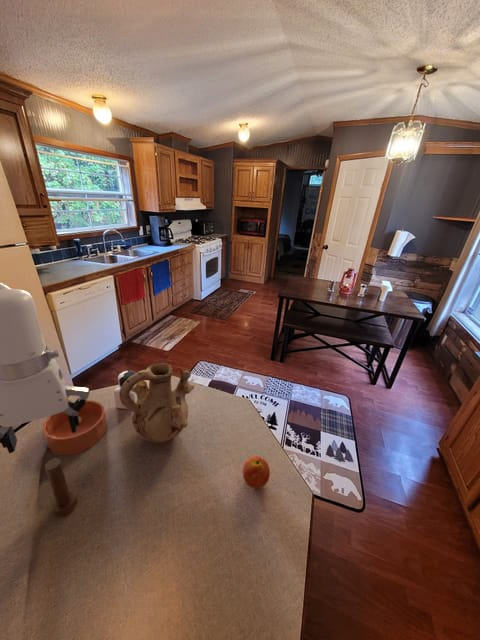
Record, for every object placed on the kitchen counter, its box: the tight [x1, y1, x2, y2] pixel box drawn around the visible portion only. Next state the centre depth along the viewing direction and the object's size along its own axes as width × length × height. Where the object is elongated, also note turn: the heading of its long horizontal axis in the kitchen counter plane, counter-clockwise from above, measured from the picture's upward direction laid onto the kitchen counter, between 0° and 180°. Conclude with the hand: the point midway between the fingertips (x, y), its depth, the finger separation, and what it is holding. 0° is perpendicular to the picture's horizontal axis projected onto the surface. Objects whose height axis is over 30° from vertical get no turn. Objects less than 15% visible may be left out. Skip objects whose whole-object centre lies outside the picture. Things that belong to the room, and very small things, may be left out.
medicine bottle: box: [113, 370, 137, 410], centre depth 88 cm, size 7×7×12 cm
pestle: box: [44, 458, 78, 518], centre depth 55 cm, size 4×4×14 cm
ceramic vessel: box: [119, 362, 195, 444], centre depth 74 cm, size 18×19×25 cm
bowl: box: [42, 399, 108, 456], centre depth 75 cm, size 15×15×6 cm
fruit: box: [242, 455, 271, 489], centre depth 65 cm, size 7×7×8 cm
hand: (45, 437), depth 49 cm, fingers open, 9 cm apart
